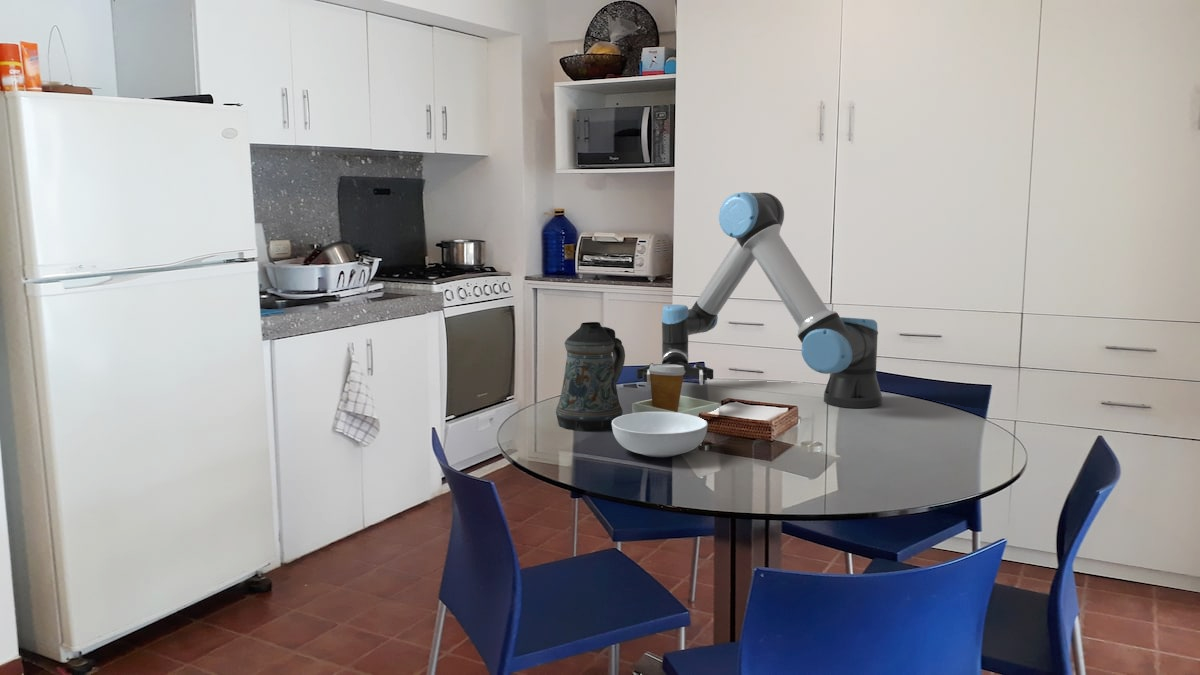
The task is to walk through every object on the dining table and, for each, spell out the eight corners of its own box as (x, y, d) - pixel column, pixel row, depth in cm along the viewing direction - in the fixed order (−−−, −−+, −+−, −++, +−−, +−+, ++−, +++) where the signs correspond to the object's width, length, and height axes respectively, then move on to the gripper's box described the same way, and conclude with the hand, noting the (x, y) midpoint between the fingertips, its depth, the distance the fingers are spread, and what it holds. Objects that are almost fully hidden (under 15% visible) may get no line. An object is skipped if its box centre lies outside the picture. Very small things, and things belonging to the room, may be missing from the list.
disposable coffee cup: (686, 411, 232) (688, 365, 231) (680, 416, 222) (682, 368, 222) (650, 408, 234) (652, 362, 233) (643, 413, 225) (645, 365, 224)
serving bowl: (719, 462, 187) (719, 430, 186) (621, 468, 183) (621, 435, 182) (693, 437, 207) (693, 408, 206) (604, 442, 204) (604, 413, 203)
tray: (719, 416, 226) (719, 403, 226) (676, 427, 216) (676, 413, 216) (674, 406, 238) (674, 394, 237) (632, 416, 228) (632, 403, 227)
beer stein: (547, 429, 216) (544, 327, 212) (571, 411, 234) (569, 317, 230) (613, 433, 211) (612, 329, 208) (632, 414, 230) (631, 318, 226)
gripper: (719, 378, 249) (723, 394, 228) (630, 377, 251) (626, 393, 230) (720, 351, 248) (723, 365, 227) (630, 351, 250) (626, 365, 229)
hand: (674, 379), depth 228 cm, fingers open, 13 cm apart
